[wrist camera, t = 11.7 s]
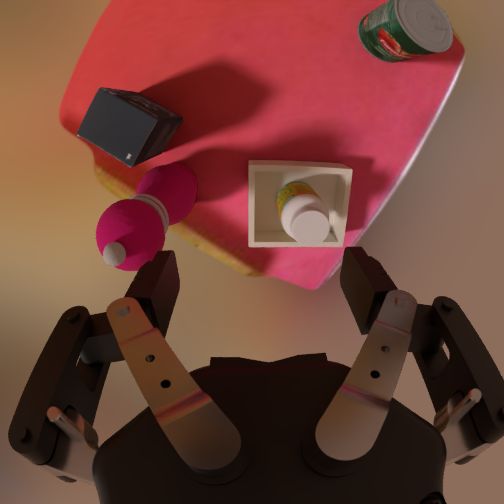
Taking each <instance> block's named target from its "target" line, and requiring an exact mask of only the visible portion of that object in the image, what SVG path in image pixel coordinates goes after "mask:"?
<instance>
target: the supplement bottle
mask: <svg viewBox="0 0 504 504" xmlns="http://www.w3.org/2000/svg"><path fill="white" fill-rule="evenodd" d="M276 205H277V209H278V212H279V216H280V219H281V223H282V226H283V228H284V230H285V231H286V233H287V234H288V235H289V236H291V237H292V238H294V239H295V240H296V241H297V242H298V243H300V244H301V245H304V246H315V245H318V244H320V243H321V242H323V241H324V240H325V239H326V237H327V236H328V234H329V231H330V223H329V212H328V209H327V206H326V205H325V203H324V202H323V201H322V199H321V198H320V197H319V196H318V194H317V193H316V192H315V191H314V189H313V188H312V187H311V186H310V185H308V184H307V183H305V182H302V181H292V182H289V183H287V184H285V185H284V186H283V187H282V188H281V189H280V190H279V192H278V194H277V197H276Z"/></svg>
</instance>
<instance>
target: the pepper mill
mask: <svg viewBox="0 0 504 504" xmlns="http://www.w3.org/2000/svg"><path fill="white" fill-rule="evenodd" d="M196 193H197V180H196V177H195V175H194V174H193V172H192V171H191V170H190V169H189V168H188V167H186V166H184V165H182V164H177V163H172V164H167V165H162V166H158V167H155V168H153V169H151V170H150V171H149V172H148V173H147V174H146V175H145V176H144V177H143V178H142V179H141V181H140V183H139V185H138V188H137V191H136V195H133V196H131V197H130V198H128V199H124V200H120V201H117V202H116V203H114V204H112V205H111V206H110V207H109V208H107V209H106V211H104V213H103V214H102V216H101V217H100V219H99V222H98V225H97V230H96V240H97V245H98V248H99V251H100V252H101V254H102V256H103V257H104V260H105V262H106V263H107V264H109V265H111V266H114V267H116V268H118V269H121V270H125V271H138V270H139V269H140V267H141V266H142V265H144V264H145V263H146V262H147V261H152V260H153V258H154V256H155V255H156V253H157V251H162V248H163V246H164V241H165V234H166V232H167V229H168V226H169V225H173V224H176V223H178V222H180V221H182V220H183V219H184V218H185V217H187V215H188V214H189V213H190V212H191V210H192V208H193V207H194V204H195V200H196Z"/></svg>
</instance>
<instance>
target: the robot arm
mask: <svg viewBox="0 0 504 504" xmlns="http://www.w3.org/2000/svg"><path fill="white" fill-rule="evenodd" d="M340 284H341V288H342V290H343V292H344V295H345V297H346V299H347V301H348V304H349V306H350V308H351V311H352V313H353V315H354V317H355V320H356V322H357V325H358V327H359V329H360V332H361V334H362V335H365V334H368V336H367V338H366V340H365V342H364V344H363V346H362V348H361V350H360V353H359V355H358V357H357V358H356V361H355V362H354V364H353V366H352V368H350V367H348V366H345V365H343V364H340V363H337V362H332V361H328V360H327V356H326V353H317V354H305V355H297V356H293V357H289V358H285V359H282V360H278V361H274V362H262V361H257V360H251V359H246V358H240V357H211V360H210V365H209V366H205V367H201V368H199V369H196V370H193V371H191V372H190V373H188V371H187V370H186V369H185V367H184V366H183V365H182V363H181V362H180V361H179V359H178V358H177V356H176V355H175V353H174V352H173V351H172V349H171V348H170V346H169V345H168V343H167V342H166V340H165V336H166V333H167V329H168V326H169V322H170V319H171V315H172V312H173V309H174V306H175V303H176V299H177V296H178V293H179V289H180V279H179V274H178V268H177V264H176V257H175V253H174V251H173V250H168V251H157V253H156V255H155V256H154V258H153V260H152V261H147V262H146V263H145V264H144V265H142V266H141V267H140V269H139V271H138V272H137V275H136V276H135V278H134V281H132V283H131V285H130V287H129V289H128V291H127V292H126V294H125V296H124V298H120V299H117V300H115V301H113V302H112V303H111V304H110V305H109V306H108V308H107V310H106V312H104V313H99V314H94V315H90V314H89V311H88V309H87V308H86V307H84V306H75V307H72V308H70V309H68V310H67V311H65V313H63V314H62V316H61V318H60V319H59V321H58V323H57V325H56V326H55V328H54V330H53V332H52V334H51V335H50V337H49V339H48V341H47V343H46V345H45V347H44V349H43V351H42V353H41V354H40V356H39V358H38V361H37V363H36V365H35V367H34V369H33V371H32V373H31V375H30V377H29V380H28V382H27V384H26V386H25V389H24V391H23V393H22V396H21V398H20V401H19V403H18V406H17V409H16V411H15V414H14V416H13V419H12V422H11V425H10V428H9V433H8V438H9V442H10V445H11V446H12V448H13V449H14V450H15V451H16V452H18V453H19V454H21V455H22V456H24V457H25V458H27V459H28V460H29V461H30V462H31V463H32V464H34V465H36V466H37V467H39V468H40V469H42V470H44V471H45V472H47V473H49V474H51V475H53V476H56V477H58V478H59V479H61V480H63V481H65V482H75V481H77V480H78V481H81V482H84V483H88V484H91V485H94V486H96V489H97V492H98V496H99V500H100V504H447V503H446V502H445V499H444V496H443V475H444V469H445V466H446V465H449V464H451V463H456V464H459V465H460V464H465V463H467V462H469V461H470V460H472V459H473V458H475V457H476V456H478V455H479V454H480V453H482V452H483V451H485V450H486V449H487V448H489V447H490V446H491V445H493V444H494V443H495V442H497V441H498V440H499V439H500V438H502V437H503V436H504V380H503V378H502V376H501V374H500V372H499V370H498V368H497V366H496V365H495V363H494V361H493V359H492V357H491V356H490V354H489V352H488V351H487V349H486V347H485V345H484V344H483V342H482V340H481V339H480V337H479V335H478V334H477V332H476V331H475V329H474V328H473V326H472V325H471V323H470V321H469V320H468V318H467V317H466V315H465V314H464V312H463V311H462V310H461V308H460V307H459V305H458V304H457V303H456V302H455V301H454V300H452V299H450V298H448V297H445V296H439V297H436V298H435V299H434V301H433V304H432V306H431V305H423V304H417V301H416V299H415V298H414V297H413V296H412V295H411V294H410V293H408V292H406V291H402V290H398V289H397V287H396V286H395V284H394V283H393V281H392V280H391V278H390V277H389V275H387V273H386V271H385V270H384V269H383V267H382V265H381V264H380V262H378V261H377V260H375V259H374V258H373V257H371V256H368V255H367V254H366V252H365V251H364V249H363V248H362V247H346V248H345V250H344V256H343V262H342V267H341V273H340ZM444 342H445V344H446V346H447V347H448V349H449V352H450V358H449V360H448V358H447V356H446V354H445V352H444V350H443V348H442V346H443V344H444ZM407 352H413V355H414V357H415V359H416V362H417V364H418V367H419V369H420V372H421V374H422V377H423V379H424V381H425V384H426V387H427V389H428V392H429V395H430V398H431V400H432V403H433V406H434V408H435V412H436V415H435V417H434V426H433V425H432V424H430V423H429V422H427V421H426V420H424V419H423V418H421V417H420V416H418V415H417V414H416V413H414V412H413V411H411V410H410V409H408V408H407V407H405V406H404V405H403V404H401V403H400V402H398V401H397V400H396V399H394V398H393V397H392V396H393V393H394V390H395V388H396V385H397V382H398V379H399V376H400V373H401V371H402V367H403V364H404V361H405V358H406V355H407ZM79 356H80V358H79ZM78 358H79V361H78V363H77V360H78ZM122 360H126V362H127V365H128V366H129V369H130V371H131V373H132V375H133V377H134V379H135V381H136V383H137V385H138V387H139V388H140V390H141V392H142V394H143V396H144V398H145V400H146V401H147V403H148V405H149V406H148V407H147V408H146V409H144V410H143V411H142V412H141V413H139V414H138V415H137V416H136V417H135V418H134V419H132V420H131V421H130V422H129V423H127V424H126V425H125V426H124V427H122V428H121V429H120V430H119V431H117V432H116V433H115V434H114V435H112V436H111V437H110V438H109V439H107V440H106V441H105V442H104V443H103V444H102V445H101V446H100V447H99V446H98V434H97V432H96V430H95V429H94V428H93V423H94V418H95V414H96V411H97V407H98V404H99V400H100V397H101V393H102V389H103V386H104V383H105V380H106V376H107V373H108V370H109V367H110V364H111V362H116V361H122ZM76 363H77V366H76Z"/></svg>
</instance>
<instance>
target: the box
mask: <svg viewBox="0 0 504 504" xmlns="http://www.w3.org/2000/svg"><path fill="white" fill-rule="evenodd" d="M182 121H183V118H182V117H180V116H179V115H177V114H175V113H173V112H172V111H170V110H168V109H166V108H165V107H163V106H161V105H159V104H158V103H156V102H154V101H152V100H150V99H149V98H147V97H145V96H143V95H142V94H140V93H138V92H132V91H125V90H118V89H110V88H103V87H100V88H99V90H98V91H97V93H96V95H95V97H94V99H93V101H92V103H91V105H90V107H89V109H88V111H87V113H86V115H85V117H84V119H83V121H82V123H81V126H80V128H79V130H78V132H77V135H78V136H80V137H82V138H84V139H85V140H87V141H89V142H91V143H92V144H94V145H96V146H97V147H99V148H101V149H102V150H104V151H106V152H107V153H109V154H110V155H112V156H114V157H115V158H117V159H118V160H120V161H122V162H123V163H125V164H126V165H127V166H129V167H131V168H132V167H133V166H136V165H138V164H140V163H142V162H144V161H146V160H148V159H151V158H153V157H155V156H157V155H159V154H162V153H163V151H164V149H165V148H166V146H167V144H168V143H169V141H170V139H171V138H172V136H173V135H174V133H175V131H176V130H177V128H178V127H179V125H180V124H181V122H182Z"/></svg>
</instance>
